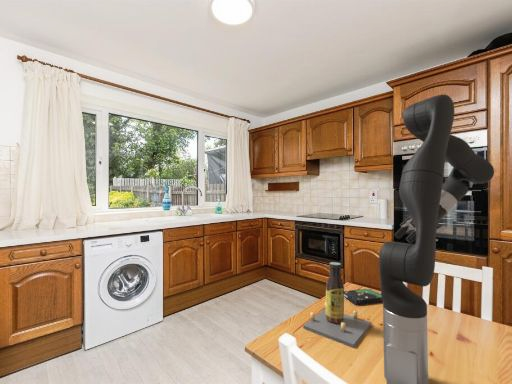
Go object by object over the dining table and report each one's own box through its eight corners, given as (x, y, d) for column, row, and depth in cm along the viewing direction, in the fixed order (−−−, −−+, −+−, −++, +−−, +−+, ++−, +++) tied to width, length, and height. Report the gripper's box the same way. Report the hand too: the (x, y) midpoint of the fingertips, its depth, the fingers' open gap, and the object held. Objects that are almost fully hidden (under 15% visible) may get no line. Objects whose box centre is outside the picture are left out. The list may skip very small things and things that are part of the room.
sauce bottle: (331, 325, 85) (330, 266, 85) (322, 316, 91) (321, 261, 91) (348, 322, 87) (347, 265, 87) (338, 314, 93) (337, 260, 93)
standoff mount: (353, 347, 74) (353, 335, 74) (303, 328, 85) (303, 318, 85) (371, 325, 87) (371, 315, 87) (325, 310, 98) (325, 301, 98)
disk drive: (356, 307, 102) (386, 302, 106) (356, 300, 102) (386, 296, 106) (341, 297, 112) (369, 293, 116) (341, 291, 112) (369, 287, 116)
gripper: (417, 197, 93) (385, 228, 94) (441, 198, 79) (403, 234, 80) (432, 212, 93) (400, 243, 94) (460, 215, 78) (421, 251, 79)
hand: (402, 239), depth 87 cm, fingers open, 8 cm apart
